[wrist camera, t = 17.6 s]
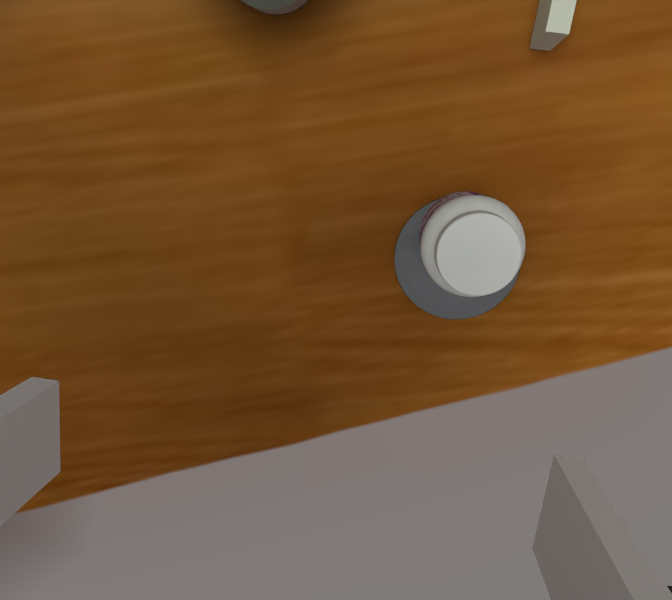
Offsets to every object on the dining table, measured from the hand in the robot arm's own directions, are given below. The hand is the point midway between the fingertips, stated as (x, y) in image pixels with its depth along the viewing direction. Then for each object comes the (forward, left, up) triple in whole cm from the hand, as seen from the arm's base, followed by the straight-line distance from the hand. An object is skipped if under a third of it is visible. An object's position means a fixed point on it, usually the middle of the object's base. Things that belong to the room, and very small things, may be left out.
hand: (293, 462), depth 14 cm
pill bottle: (+6, +5, -23) cm, 24 cm away
